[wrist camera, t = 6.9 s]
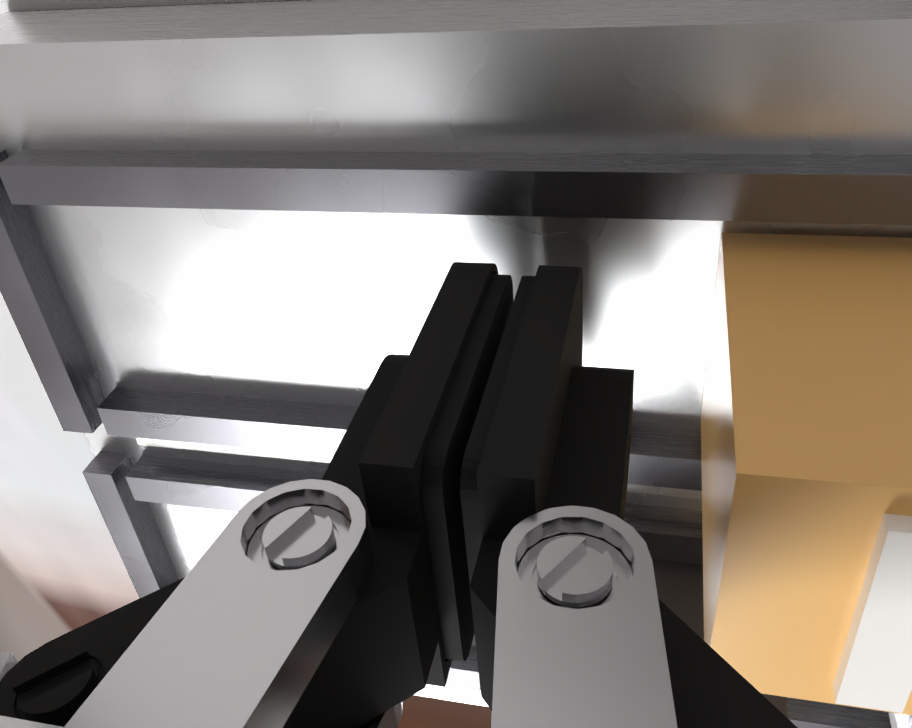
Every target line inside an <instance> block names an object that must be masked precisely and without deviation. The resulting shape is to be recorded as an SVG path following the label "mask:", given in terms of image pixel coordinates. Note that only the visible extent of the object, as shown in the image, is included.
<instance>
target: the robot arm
mask: <svg viewBox="0 0 912 728" xmlns="http://www.w3.org/2000/svg"><path fill="white" fill-rule="evenodd" d="M582 344H583V270H582V267H576V266H549V265H539V267H538V269H537V273H536V276H522V277H521V280H520V283H519V286H518V289H517V292H516V295H515V299H514V301H513V283H512V277H511V275H499V274H498V269H497V266H496V264H495V263H469V262H453V264H452V265H451V267H450V269H449V271H448V273H447V275H446V277H445V280H444V282H443V284H442V286H441V288H440V290H439V292H438V294H437V297H436V299H435V301H434V303H433V305H432V307H431V309H430V311H429V314H428V316H427V318H426V320H425V322H424V324H423V326H422V328H421V331H420V333H419V335H418V337H417V339H416V341H415V343H414V346H413V348H412V350H411V352H410V354H409V355H401V354H389V355H387V356H385V358H384V359H383V361H382V362H381V364H380V366H379V368H378V370H377V372H376V374H375V375H374V377H373V379H372V381H371V383H370V385H369V387H368V389H367V391H366V393H365V395H364V397H363V399H362V401H361V403H360V405H359V407H358V409H357V411H356V413H355V415H354V417H353V419H352V421H351V423H350V425H349V426H348V428H347V430H346V432H345V434H344V436H343V438H342V440H341V442H340V444H339V446H338V448H337V450H336V452H335V454H334V456H333V458H332V460H331V462H330V464H329V466H328V468H327V470H326V472H325V474H324V475H323V477H322V479H321V480H317V479H306V480H298V481H290V482H287V483H284V484H281V485H278V486H275V487H272V488H269V489H268V490H266V491H264V492H263V493H261V494H259V495H258V496H256V497H254V498H252V499H251V500H250V501H249V502H248V503H247V504H246V505H245V506H244V507H243V508H242V509H241V510H240V511H238V512H237V514H236V515H235V516H234V517H233V519H232V520H231V521H230V522H229V523H228V525H227V526H226V527H225V528H224V530H223V531H222V532H221V533H220V535H219V536H218V537H217V538H216V540H215V541H214V542H213V543H212V545H211V546H210V547H209V548H208V549H207V551H206V552H205V553H204V554H203V556H202V557H201V558H200V559H199V561H198V562H197V563H196V564H195V566H194V567H193V568H192V569H191V571H190V572H189V573H188V574H187V575H186V577H184V578H182V579H180V580H178V581H176V582H174V583H171V584H169V585H167V586H165V587H163V588H161V589H159V590H157V591H155V592H153V593H150V594H148V595H146V596H144V597H142V598H140V599H138V600H136V601H134V602H131V603H129V604H127V605H125V606H123V607H121V608H119V609H117V610H115V611H113V612H110V613H108V614H106V615H104V616H102V617H100V618H98V619H96V620H94V621H92V622H89V623H87V624H85V625H83V626H81V627H79V628H77V629H75V630H73V631H70V632H68V633H66V634H64V635H62V636H60V637H58V638H56V639H54V640H52V641H50V642H48V643H46V644H44V645H43V646H41V647H39V648H38V649H36V650H34V651H33V652H31V653H29V654H28V655H26V656H25V657H24V658H23V659H21V660H20V661H19V662H17V661H16V659H15V657H14V656H13V654H12V653H11V652H4V653H0V728H398V726H399V722H400V719H401V715H402V712H403V705H402V701H404V700H406V699H407V698H409V697H411V696H412V695H414V694H416V693H417V692H419V691H421V690H422V689H424V688H425V686H426V684H428V685H435V686H441V687H445V686H446V682H447V678H448V675H449V671H450V667H451V663H452V660H458V661H466V660H467V658H468V656H469V653H470V650H471V646H472V641H473V637H474V633H475V643H476V652H477V661H478V671H479V680H480V689H481V697H482V698H483V700H484V701H485V702H486V704H487V705H488V706H489V708H490V709H491V710H492V723H491V728H798V727H797V726H795V725H794V724H793V723H792V722H791V721H790V720H789V719H788V718H787V717H786V716H785V715H784V714H783V713H781V712H780V711H779V710H778V709H777V708H776V707H775V706H774V705H773V704H772V703H771V702H770V701H769V700H767V699H766V698H765V697H764V696H763V695H762V694H761V693H760V692H759V691H758V690H757V689H756V688H754V687H753V686H752V685H751V684H750V683H749V682H748V681H747V680H746V679H745V678H744V677H743V676H742V675H740V674H739V673H738V672H737V671H736V670H735V669H734V668H733V667H732V666H731V665H730V664H729V663H728V662H726V661H725V660H724V659H723V658H722V657H721V656H720V655H719V654H718V653H717V652H716V651H715V650H714V649H712V648H711V647H710V646H709V645H708V644H707V643H706V642H705V641H704V640H703V639H702V638H701V637H699V636H698V635H697V634H696V633H695V632H694V631H693V630H692V629H691V628H690V627H689V626H688V625H687V624H685V623H684V622H683V621H682V620H681V619H680V618H679V617H678V616H677V615H676V614H675V613H674V612H673V611H671V610H670V609H669V608H668V607H667V606H666V605H665V604H664V603H663V602H662V601H661V600H660V599H659V598H658V595H657V588H656V582H655V575H654V568H653V562H652V558H651V555H650V553H649V550H648V547H647V544H646V542H645V541H644V540H643V538H642V537H641V536H640V535H639V534H638V532H637V531H636V530H635V529H634V528H633V527H632V526H631V525H629V524H628V523H626V522H625V521H624V519H625V508H626V496H627V485H628V473H629V459H630V445H631V429H632V411H633V392H634V369H619V368H604V367H588V366H582Z"/></svg>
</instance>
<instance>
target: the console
mask: <svg viewBox="0 0 912 728" xmlns="http://www.w3.org/2000/svg"><path fill="white" fill-rule="evenodd" d="M721 233H756V234H794V235H832V236H870V237H907V238H912V0H312V1H286V2H259V3H233V4H207V5H181V6H154V7H128V8H102V9H75V10H49V11H23V12H6V13H3V14H1V15H0V291H1V294H2V296H3V298H4V300H5V302H6V305H7V307H8V309H9V311H10V313H11V316H12V318H13V320H14V322H15V324H16V327H17V329H18V331H19V333H20V335H21V338H22V340H23V342H24V344H25V346H26V349H27V351H28V353H29V355H30V357H31V360H32V362H33V364H34V366H35V368H36V371H37V373H38V375H39V377H40V380H41V382H42V384H43V386H44V388H45V391H46V393H47V395H48V397H49V399H50V402H51V404H52V406H53V408H54V410H55V413H56V415H57V417H58V419H59V421H60V424H61V426H62V428H63V430H64V431H72V432H83V433H84V434H85V437H86V439H87V441H88V443H89V446H90V448H91V450H92V453H93V455H94V457H95V458H94V459H93V460H92V461H91V463H90V464H89V465H88V466H87V467H86V469H85V470H84V471H83V474H84V477H85V479H86V481H87V483H88V485H89V488H90V490H91V492H92V494H93V496H94V499H95V501H96V503H97V505H98V507H99V510H100V512H101V514H102V516H103V518H104V521H105V523H106V525H107V527H108V529H109V532H110V534H111V536H112V538H113V540H114V543H115V545H116V547H117V549H118V552H119V554H120V556H121V558H122V560H123V563H124V565H125V567H126V569H127V571H128V574H129V576H130V578H131V580H132V582H133V585H134V587H135V589H136V591H137V593H138V596H139V598H142V597H144V596H146V595H148V594H150V593H153V592H155V591H157V590H159V589H161V588H163V587H165V586H167V585H169V584H171V583H174V582H176V581H178V580H180V579H182V578H184V577H186V575H187V574H188V573H189V572H190V571H191V569H192V568H193V567H194V566H195V564H196V563H197V562H198V561H199V559H200V558H201V557H202V556H203V554H204V553H205V552H206V551H207V549H208V548H209V547H210V546H211V545H212V543H213V542H214V541H215V540H216V538H217V537H218V536H219V535H220V533H221V532H222V531H223V530H224V528H225V527H226V526H227V525H228V523H229V522H230V521H231V520H232V519H233V517H234V516H235V515H236V514H237V512H238V511H240V510H241V509H242V508H243V507H244V506H245V505H246V504H247V503H248V502H249V501H250V500H251V499H252V498H254V497H256V496H258V495H259V494H261V493H263V492H264V491H266V490H268V489H269V488H272V487H275V486H278V485H281V484H284V483H287V482H290V481H298V480H306V479H317V480H321V479H322V477H323V475H324V474H325V472H326V470H327V468H328V466H329V464H330V462H331V460H332V458H333V456H334V454H335V452H336V450H337V448H338V446H339V444H340V442H341V440H342V438H343V436H344V434H345V432H346V430H347V428H348V426H349V425H350V423H351V421H352V419H353V417H354V415H355V413H356V411H357V409H358V407H359V405H360V403H361V401H362V399H363V397H364V395H365V393H366V391H367V389H368V387H369V385H370V383H371V381H372V379H373V377H374V375H375V374H376V372H377V370H378V368H379V366H380V364H381V362H382V361H383V359H384V358H385V356H387V355H389V354H401V355H409V354H410V352H411V350H412V348H413V346H414V343H415V341H416V339H417V337H418V335H419V333H420V331H421V328H422V326H423V324H424V322H425V320H426V318H427V316H428V314H429V311H430V309H431V307H432V305H433V303H434V301H435V299H436V297H437V294H438V292H439V290H440V288H441V286H442V284H443V282H444V280H445V277H446V275H447V273H448V271H449V269H450V267H451V265H452V264H453V262H469V263H495V264H496V266H497V269H498V274H499V275H511V277H512V283H513V301H514V299H515V295H516V292H517V289H518V286H519V283H520V280H521V277H522V276H536V273H537V269H538V267H539V265H549V266H576V267H582V270H583V344H582V366H588V367H604V368H619V369H634V392H633V411H632V429H631V445H630V459H629V473H628V485H627V496H626V508H625V519H624V521H625V522H626V523H628V524H629V525H631V526H632V527H633V528H634V529H635V530H636V531H637V532H638V534H639V535H640V536H641V537H642V538H643V540H644V541H645V542H646V544H647V547H648V550H649V553H650V555H651V558H652V559H656V560H665V561H674V562H683V563H691V564H700V565H703V536H702V466H701V411H702V402H703V393H704V384H705V375H706V366H707V357H708V348H709V339H710V330H711V321H712V312H713V303H714V294H715V285H716V276H717V267H718V258H719V249H720V241H721ZM414 695H417V696H423V697H430V698H436V699H442V700H448V701H455V702H461V703H467V704H473V705H480V706H486V707H489V706H488V705H487V704H486V702H485V701H484V700H483V698H482V697H481V689H480V680H479V671H478V661H477V652H476V643H475V633H474V637H473V641H472V646H471V650H470V653H469V656H468V658H467V660H466V661H458V660H452V663H451V667H450V671H449V675H448V678H447V682H446V686H445V687H441V686H435V685H428V684H426V686H425V688H424V689H422V690H421V691H419V692H417V693H416V694H414ZM786 700H787V710H788V719H789V720H790V721H791V722H792V723H793V724H794V725H795V726H797V727H798V728H912V715H907V714H900V713H893V712H886V711H879V710H872V709H865V708H858V707H851V706H845V705H838V704H831V703H824V702H817V701H810V700H803V699H796V698H789V697H786Z"/></svg>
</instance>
